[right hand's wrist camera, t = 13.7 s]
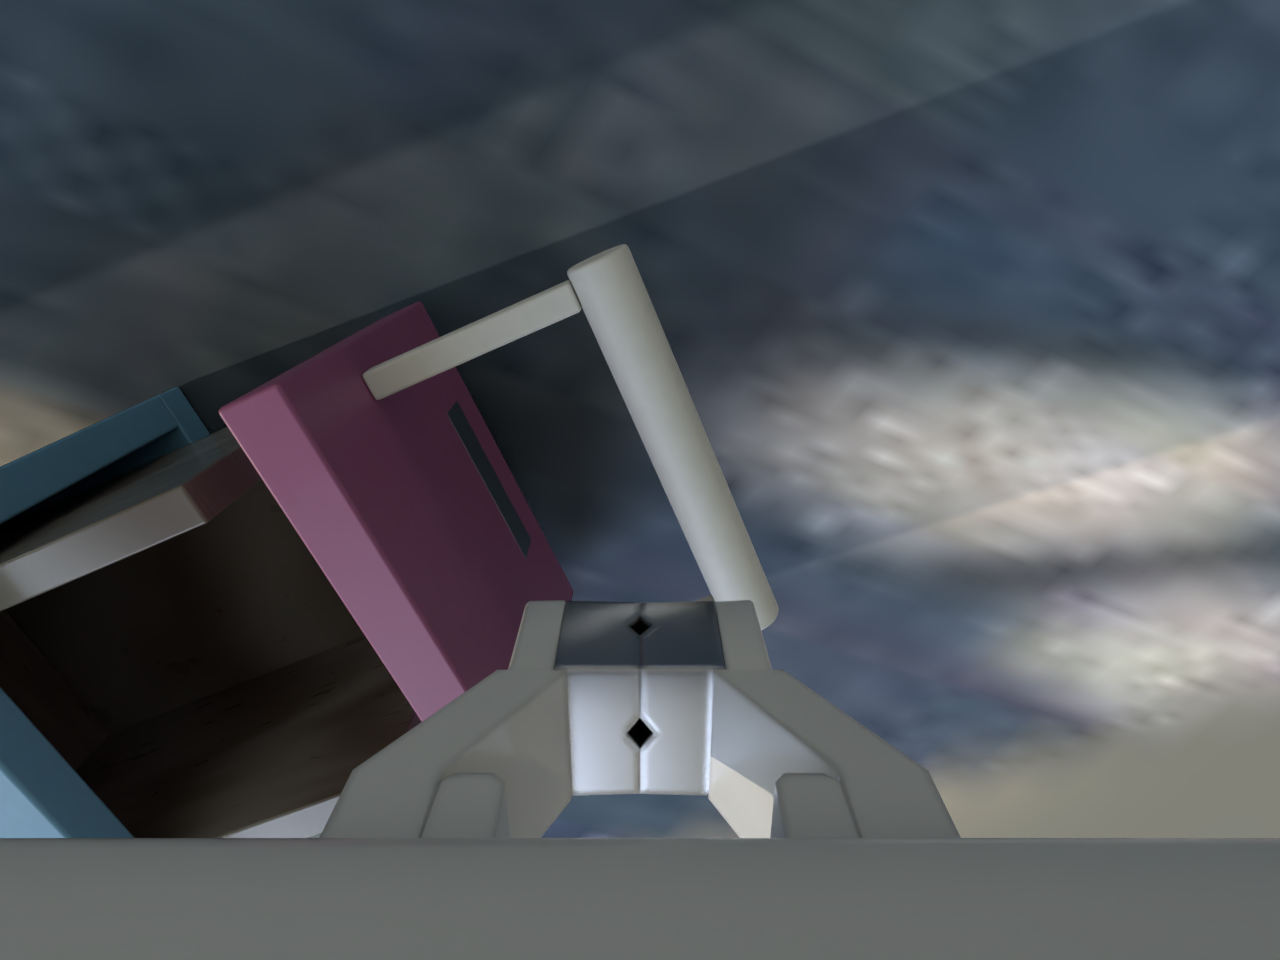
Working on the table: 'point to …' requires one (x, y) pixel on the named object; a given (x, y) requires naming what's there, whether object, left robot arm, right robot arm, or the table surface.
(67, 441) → the cabinet
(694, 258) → the table surface
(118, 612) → the drawer
